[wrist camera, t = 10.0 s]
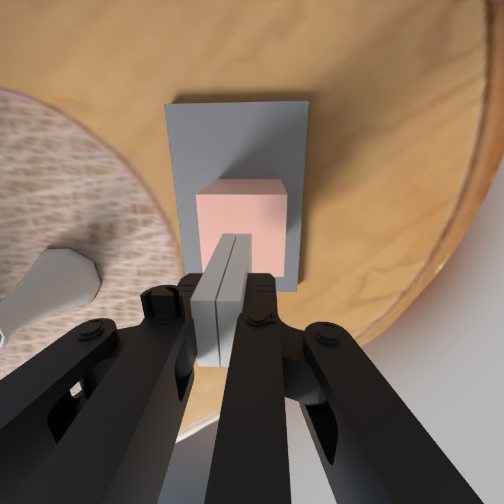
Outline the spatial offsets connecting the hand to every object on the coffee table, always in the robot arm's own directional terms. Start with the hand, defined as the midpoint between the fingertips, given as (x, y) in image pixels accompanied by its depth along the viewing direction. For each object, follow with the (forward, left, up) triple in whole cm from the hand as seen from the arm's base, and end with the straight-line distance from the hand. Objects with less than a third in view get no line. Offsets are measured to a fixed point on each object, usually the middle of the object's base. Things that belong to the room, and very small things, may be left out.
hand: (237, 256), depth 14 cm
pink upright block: (0, 0, -11) cm, 11 cm away
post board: (-1, 0, -12) cm, 12 cm away
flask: (-21, -8, -13) cm, 26 cm away
